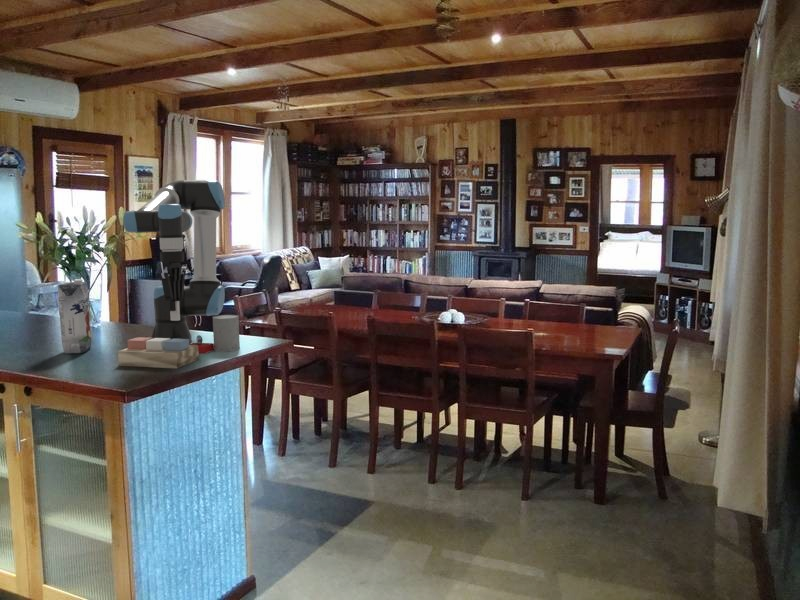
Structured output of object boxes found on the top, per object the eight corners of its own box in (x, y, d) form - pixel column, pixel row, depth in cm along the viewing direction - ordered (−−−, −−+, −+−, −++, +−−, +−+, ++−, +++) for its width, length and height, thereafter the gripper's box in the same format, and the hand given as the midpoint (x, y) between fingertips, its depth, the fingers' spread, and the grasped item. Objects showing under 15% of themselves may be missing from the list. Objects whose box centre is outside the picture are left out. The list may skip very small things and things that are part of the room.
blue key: (174, 347, 244) (173, 338, 243) (189, 347, 242) (188, 339, 242) (164, 350, 238) (164, 341, 238) (180, 351, 237) (179, 342, 236)
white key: (156, 346, 245) (155, 337, 245) (170, 346, 244) (170, 338, 244) (146, 349, 240) (145, 340, 239) (161, 350, 238) (161, 341, 238)
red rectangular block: (213, 350, 264) (213, 334, 263) (205, 354, 257) (204, 337, 256) (194, 349, 265) (193, 333, 264) (185, 353, 258) (184, 336, 258)
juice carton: (60, 354, 258) (55, 281, 255) (69, 349, 268) (64, 278, 265) (86, 353, 260) (81, 280, 256) (93, 347, 270) (89, 277, 266)
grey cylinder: (225, 345, 271) (223, 314, 270) (245, 347, 267) (243, 315, 265) (208, 350, 263) (206, 317, 261) (228, 352, 258) (227, 319, 257)
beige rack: (143, 357, 252) (142, 343, 251) (198, 359, 247) (198, 345, 246) (118, 365, 238) (117, 351, 238) (177, 368, 233) (176, 353, 233)
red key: (137, 345, 247) (137, 337, 247) (152, 346, 246) (152, 337, 245) (127, 348, 241) (127, 340, 241) (142, 349, 240) (142, 340, 240)
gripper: (172, 249, 243) (175, 317, 246) (150, 251, 230) (154, 322, 233) (192, 249, 241) (195, 317, 244) (171, 251, 229) (174, 323, 231)
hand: (175, 320), depth 239 cm, fingers closed
